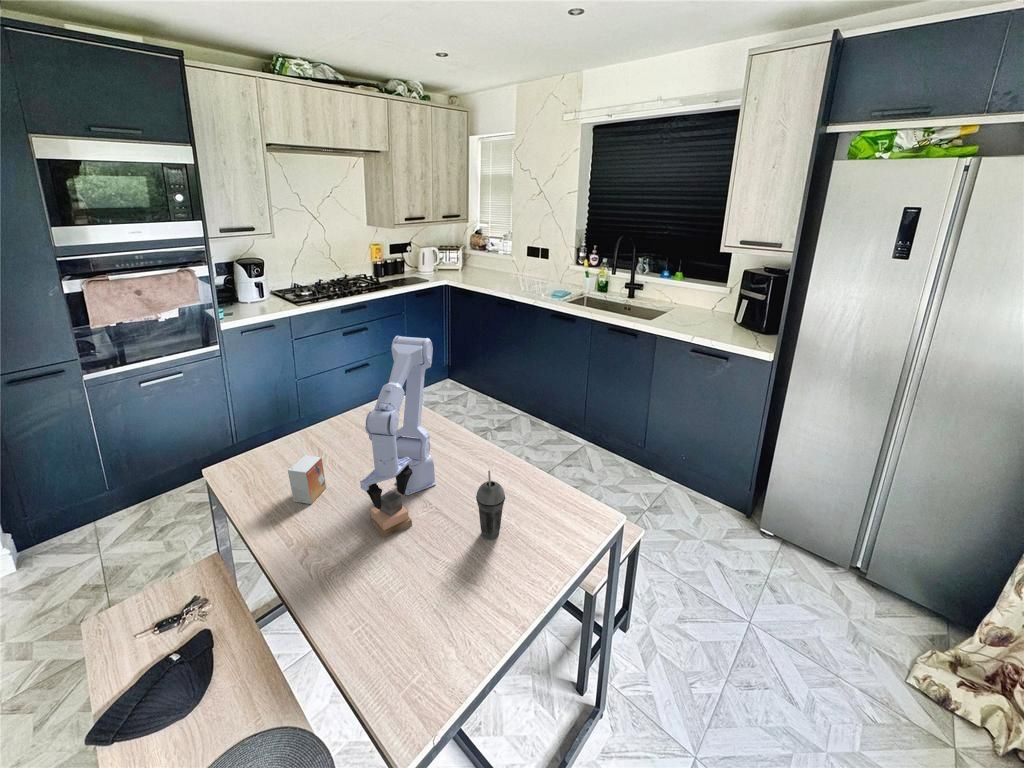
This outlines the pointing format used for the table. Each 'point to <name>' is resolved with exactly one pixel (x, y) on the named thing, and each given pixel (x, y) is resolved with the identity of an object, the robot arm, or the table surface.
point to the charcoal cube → (391, 503)
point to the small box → (307, 479)
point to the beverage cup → (490, 508)
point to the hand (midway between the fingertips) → (389, 499)
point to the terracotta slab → (388, 517)
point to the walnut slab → (393, 529)
